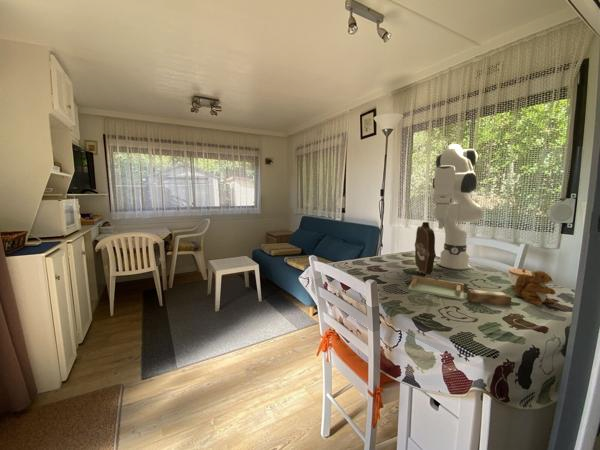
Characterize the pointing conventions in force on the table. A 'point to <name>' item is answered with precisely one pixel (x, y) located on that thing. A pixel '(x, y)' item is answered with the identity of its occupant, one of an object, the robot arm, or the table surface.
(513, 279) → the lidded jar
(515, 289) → the stuffed squirrel
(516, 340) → the table surface
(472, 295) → the brown rectangular block
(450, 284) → the shallow tray
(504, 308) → the table surface
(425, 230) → the decorative plaque
